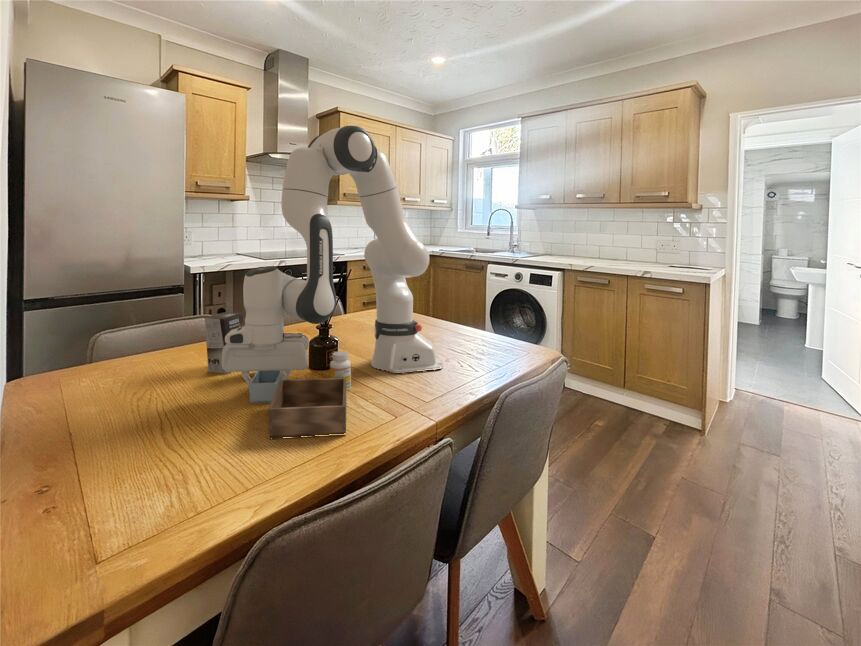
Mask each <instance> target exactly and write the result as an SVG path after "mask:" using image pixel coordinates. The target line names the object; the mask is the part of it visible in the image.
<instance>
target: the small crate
mask: <svg viewBox="0 0 861 646" xmlns="http://www.w3.org/2000/svg"><path fill="white" fill-rule="evenodd" d="M284 375H285V374H284V370H281V371H255V373H254V375H253V377H252V378H251V379H252V380H251V381H250V383H249V388H248V389H249V390H248V391H249V392H248V393H249V404H250V403H252V404H253V403H256V404H271V401H272V399H273V397H274V394H275V392H276V390H277V387H278V385H279V383H280V380H281V378H285V376H284ZM253 405H254V404H253Z"/></svg>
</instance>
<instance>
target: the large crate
mask: <svg viewBox="0 0 861 646" xmlns="http://www.w3.org/2000/svg"><path fill="white" fill-rule="evenodd" d="M267 416H268V417H267V418H268V434H269V435H268V436H269V438H270V439H269V438H268V439H269V440H272V439H271V438H283V437H301V436H315V435H329V434H344V433H346V434H347V390H346V378H330V377H329V378H303V379H302V378H299V379H295V378H294V379H287V380H280V383H279V385H278V387H277V390H276V392H275V394H274V397H273V399H272V401H271V403H269V406H268V408H267Z"/></svg>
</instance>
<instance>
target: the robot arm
mask: <svg viewBox="0 0 861 646" xmlns="http://www.w3.org/2000/svg"><path fill="white" fill-rule="evenodd" d="M283 175H284V177H283V183H282V189H281V191H282V192H281V200H280V201H281V202H280V204H281V212H282V213H281V214H282V216H283V219H284V220H285V221H286V223H287V224H288V225H289V226H290V227H292V229H294V230H295V231H297V232H298V233H299V234H300V235H301V237H302V238H303V240H304V242H305V245H306V280H305V279H302V278H297V277H294V276H291V275H289V274H287V273H284V272H283V271H281V270H279V268H278V267H276V266H271V265H269V266H268V265H267V266H259V267H254V268H252V269H250V270H249V271H247V272H246V274H245V275H244V279H243V288H242V290H243V291H242V292H243V296H242V297H243V306H244V310H245V317H244V318H245V319H244V325H243V327H240V328H237V329H234V330H232V331H230V332H229V333H228V334H227V335H226V336H225V342H226V343H227V344H226V345H225V346H224V348H223V351H222V368H223V370H224V371H226V372H230V373H234V372H235V373H236V372H239V373H240V372H241V376H242V377H243V379H244V380H245V381H246V385H247V389H249V383H250V381H251V380H252V378H251V377H250V375H249V374H250V372H257V371H281V370H284V375H285V376H284V378H281V380H289V377H290V375H291V373H292V371H305V370H306V369H307V368H308V367H309V354H308V349H309V347H310V341H309V340H310V339H309V337H308V335H305V334H303V333H301V332H298V333H293V332H285V331H284V330H285V329H284V317H285V316H291V317H294V318H297V319H300V320H302V321H306V322H308V323H310V324H312V325H320V324H322V323H325V322H327V320H329V318H331V316H332V315H333V313H334V312H335V310H336V307H337V295H336V289H335V283H334V246H333V243H334V241H333V240H334V239H333V237H334V236H333V227H332V224H331V222H330V220H329V215H328V199H329V198H328V197H329V185H330V182H331V179H332V178H333V176H341V175H342V176H344V175H349V176H350V177H351V178H352V180H353V182H354V184H355V187H356V192H357V196H358V198H359V202H360V205H361V208H362V212H363V216H364V219H365V222H366V224H367V226H368V227H369V228H370V229H371V231H372V232H373V233H374V235H375V236H376V238H374V239H373V240H371V241H369V242H368V243H367V244H366V246H365V249H364V252H363V253H364V260H365V263H366V264H367V266H368V267H369V269H370V272H371V276H372V279H373V281H372V282H373V285H374V289H375V297H376V298H375V299H376V300H375V301H376V319H375V322H374V338H375V342H374V349H373V356H372V360H371V362H370V365H371V367H373V368H374V369H376V368H377V370H379V369H381V370H380V371H384V370H387V371H386V372H388V371H390V372H389V373H391V372H393V373H392V374H394V373H402V372H410V371H417V370H425V369H433V368H440V367H442V366H443V367H444V361H443V359H442V358H441V357H440V356H438V355H437V351H436V348H435V345H434V344H433V342H431V341H430V340H429V339H428V338H426V336H424V335H422V334H421V333H420V332H421V331H422V330H423V326H422V325H421V323H419V322H418V321H416V320H415V319H413V316H414V314H413V313H414V312H413V311H414V310H413V308H414V295H413V292H412V291H411V290H410V288H409V286H408V283H407V279H406V278H414V277H415V278H416V277H419V276H421V275H423V274H425V272H426V270H427V269H428V267H429V265H430V253H429V250H428V249H427V247H426V246H425V245H424V244H423V243H422V242H421V241H420V240H419V238H418V237H417V236H416V234H415V232H414V231H413V228H412V227H411V224H410V223H409V221H408V219H407V217H406V214H405V211H404V208H403V205H402V201H401V198H400V194H399V190H398V186H397V183H396V179H395V176H394V172H393V170H392V167H391V165H390V163H389V161H388V158H387V157H386V154H384V152H383V151H381V150H379V149H377V146H376V145H375V143H374V140H373V138H372V136H371V135H370V134H369V132H368V131H367V130H366V129H364V128H363V127H361V126H359V125H345V126H342V127H337V128H333V129H330V130H328V131H327V132H324V133H322V134H319V135H317V136H316V137H314V138H313V139H312V140H311V141H310V143H309V145H308V146H303V147H298V148H295V149H294V150H292V151H291V153H290V154H289V156H288V160H287V164H286V166H285V170H284V174H283ZM439 364H440V365H439ZM402 374H403V373H402Z"/></svg>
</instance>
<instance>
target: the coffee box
mask: <svg viewBox="0 0 861 646" xmlns="http://www.w3.org/2000/svg"><path fill="white" fill-rule="evenodd" d="M204 326H205V341H206V342H205V343H206V356H207V357H206V358H207V370H208V372H209V373H214V374H215V373H217V374H223V373H224V374H225V375H228V374H230V373H231V372H226V371H224V370H223V368H222V351H223V348H224V346H225V345H226V344H227V343H226V342H225V336H226V335H227V334H228V333H229V332H230V331H232V330H234V329H237V328H240V327H243V326H244V314H243V312H225V311H224V312H221V313H220V312H219V313H216V314H213V315H210V316H206V317H204Z"/></svg>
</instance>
